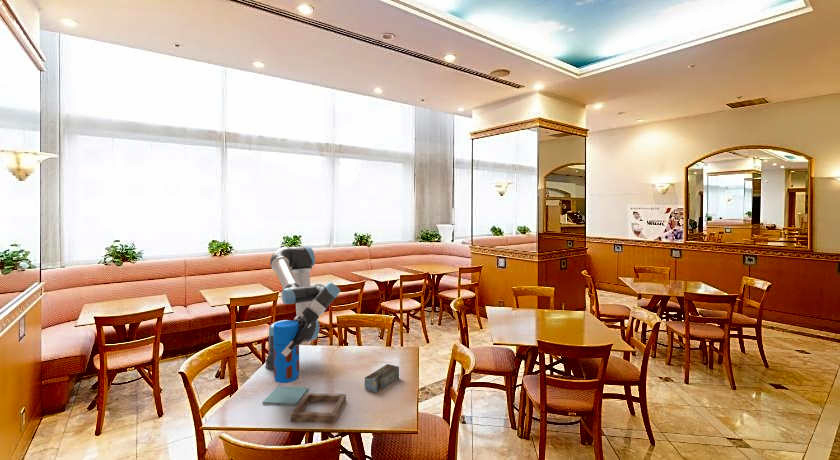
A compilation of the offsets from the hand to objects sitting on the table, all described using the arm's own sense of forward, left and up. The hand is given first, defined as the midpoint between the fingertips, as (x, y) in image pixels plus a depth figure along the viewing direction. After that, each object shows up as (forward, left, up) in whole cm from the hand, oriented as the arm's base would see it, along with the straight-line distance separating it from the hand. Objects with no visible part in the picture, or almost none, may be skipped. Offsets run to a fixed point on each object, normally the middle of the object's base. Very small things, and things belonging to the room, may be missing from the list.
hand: (280, 351), depth 170 cm
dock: (+21, -9, -22) cm, 32 cm away
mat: (+2, +2, -22) cm, 22 cm away
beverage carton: (+43, +19, -22) cm, 52 cm away
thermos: (+2, +2, -13) cm, 14 cm away
